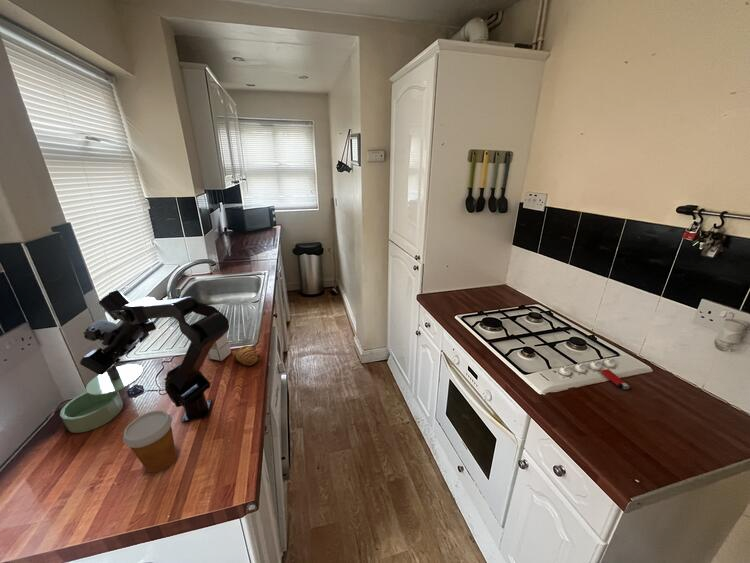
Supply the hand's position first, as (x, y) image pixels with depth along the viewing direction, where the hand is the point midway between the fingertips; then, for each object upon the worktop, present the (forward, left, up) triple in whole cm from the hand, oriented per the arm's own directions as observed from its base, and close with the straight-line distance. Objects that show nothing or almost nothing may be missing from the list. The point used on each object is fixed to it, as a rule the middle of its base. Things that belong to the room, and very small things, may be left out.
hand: (104, 364), depth 90 cm
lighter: (-41, -151, -14) cm, 157 cm away
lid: (0, -1, -6) cm, 6 cm away
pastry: (+10, -37, -14) cm, 41 cm away
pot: (-5, +4, -13) cm, 15 cm away
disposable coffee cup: (-28, -20, -14) cm, 37 cm away
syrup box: (+15, -27, -14) cm, 33 cm away
